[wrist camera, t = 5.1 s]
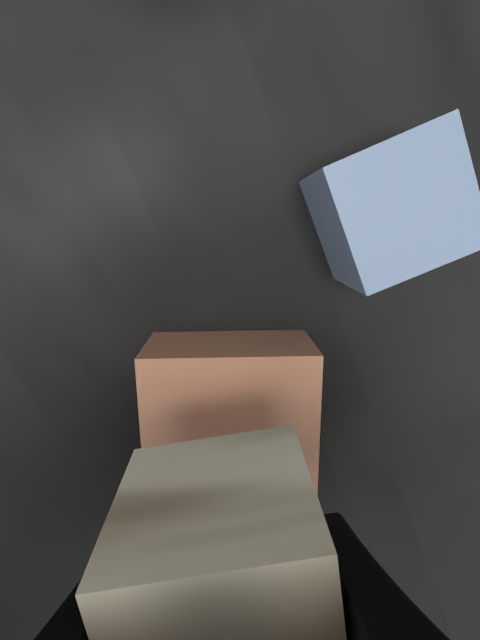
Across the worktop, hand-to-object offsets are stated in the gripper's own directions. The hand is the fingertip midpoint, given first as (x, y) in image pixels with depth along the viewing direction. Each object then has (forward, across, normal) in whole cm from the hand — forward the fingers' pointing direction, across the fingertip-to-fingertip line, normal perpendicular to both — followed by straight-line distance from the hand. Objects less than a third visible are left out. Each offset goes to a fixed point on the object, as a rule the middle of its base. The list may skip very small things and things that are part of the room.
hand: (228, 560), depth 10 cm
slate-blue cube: (+10, -7, -8) cm, 14 cm away
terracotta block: (+10, 0, 0) cm, 10 cm away
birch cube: (+2, 0, 0) cm, 2 cm away
